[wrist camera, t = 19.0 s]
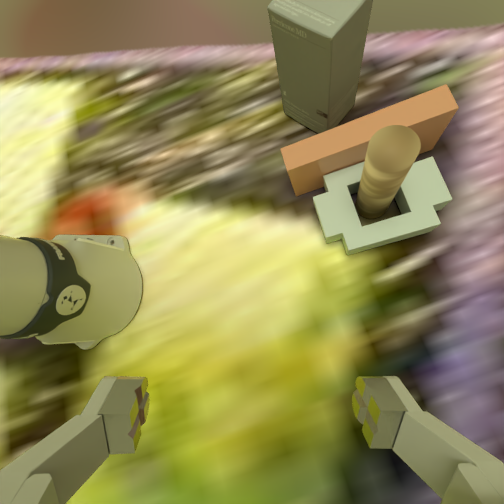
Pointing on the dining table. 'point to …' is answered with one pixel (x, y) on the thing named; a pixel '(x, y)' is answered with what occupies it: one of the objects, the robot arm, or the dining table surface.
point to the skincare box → (319, 57)
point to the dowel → (385, 168)
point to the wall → (366, 137)
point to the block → (390, 230)
